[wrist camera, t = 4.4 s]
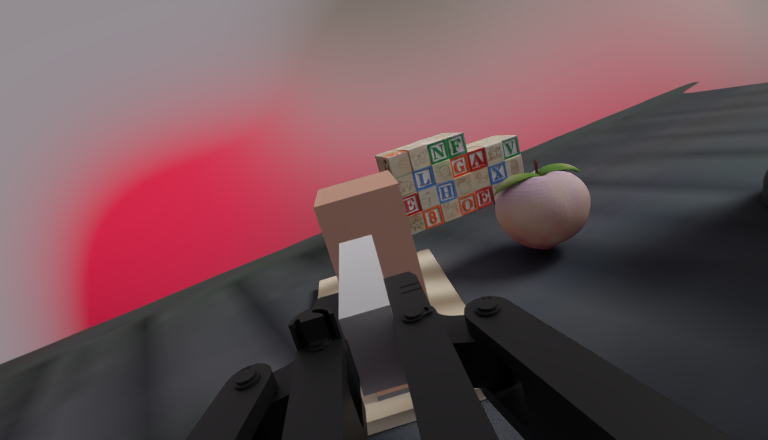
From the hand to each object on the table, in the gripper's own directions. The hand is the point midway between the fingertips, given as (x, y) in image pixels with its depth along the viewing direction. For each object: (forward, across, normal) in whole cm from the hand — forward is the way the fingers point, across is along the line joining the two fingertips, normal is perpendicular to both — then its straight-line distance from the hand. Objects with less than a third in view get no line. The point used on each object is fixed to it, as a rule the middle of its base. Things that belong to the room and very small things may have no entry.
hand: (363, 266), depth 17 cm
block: (+8, +1, -12) cm, 14 cm away
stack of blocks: (+42, +15, -13) cm, 47 cm away
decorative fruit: (+20, +19, -13) cm, 30 cm away
